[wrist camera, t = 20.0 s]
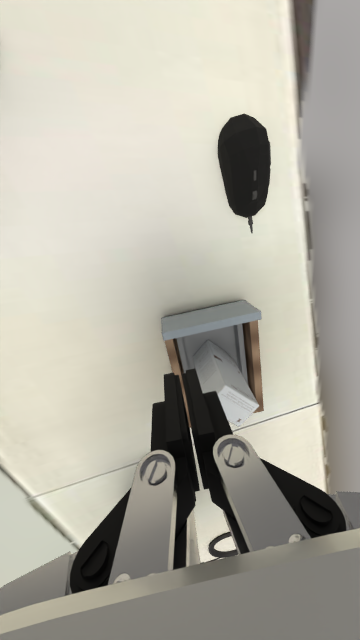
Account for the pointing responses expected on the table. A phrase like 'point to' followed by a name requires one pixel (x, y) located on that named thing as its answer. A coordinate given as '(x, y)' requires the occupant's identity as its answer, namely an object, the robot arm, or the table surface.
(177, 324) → the tray
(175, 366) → the housing
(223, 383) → the skincare box
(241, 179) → the gaming mouse
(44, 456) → the table surface
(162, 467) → the robot arm
